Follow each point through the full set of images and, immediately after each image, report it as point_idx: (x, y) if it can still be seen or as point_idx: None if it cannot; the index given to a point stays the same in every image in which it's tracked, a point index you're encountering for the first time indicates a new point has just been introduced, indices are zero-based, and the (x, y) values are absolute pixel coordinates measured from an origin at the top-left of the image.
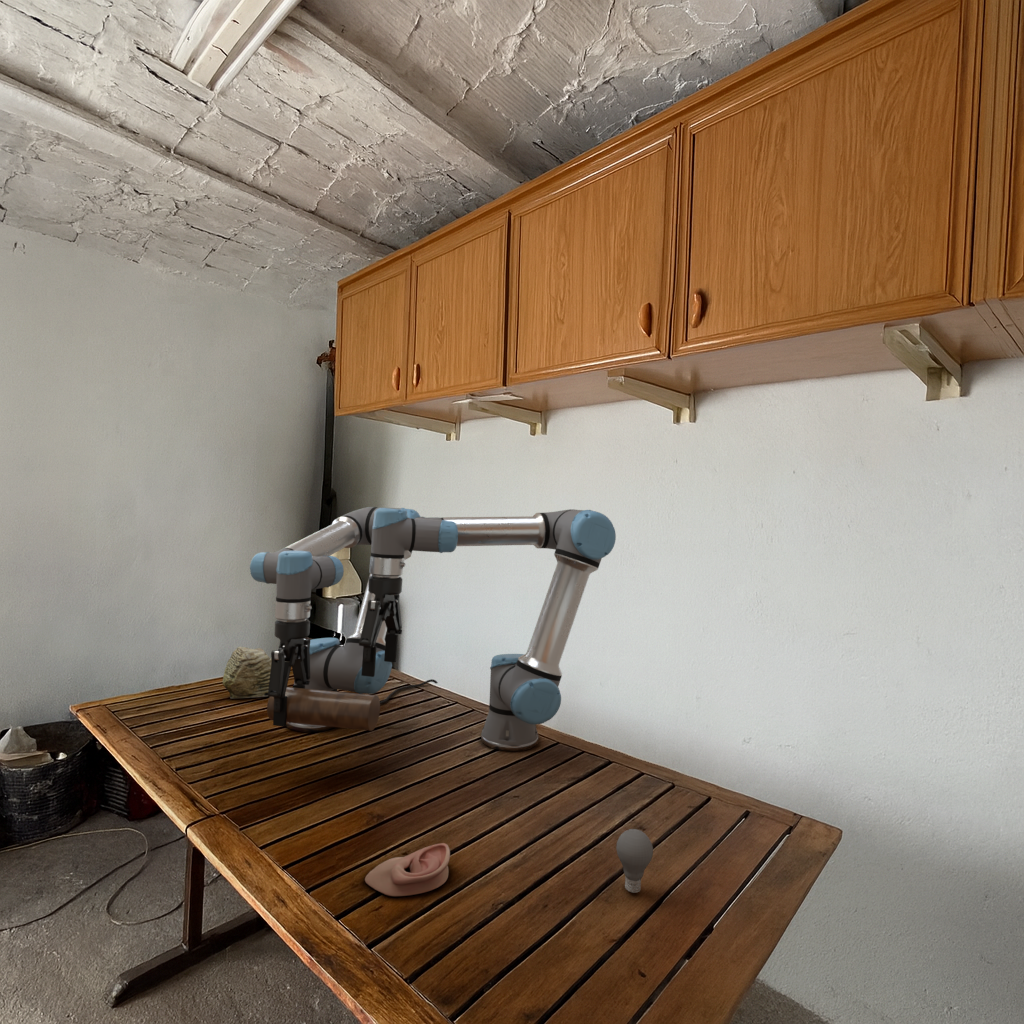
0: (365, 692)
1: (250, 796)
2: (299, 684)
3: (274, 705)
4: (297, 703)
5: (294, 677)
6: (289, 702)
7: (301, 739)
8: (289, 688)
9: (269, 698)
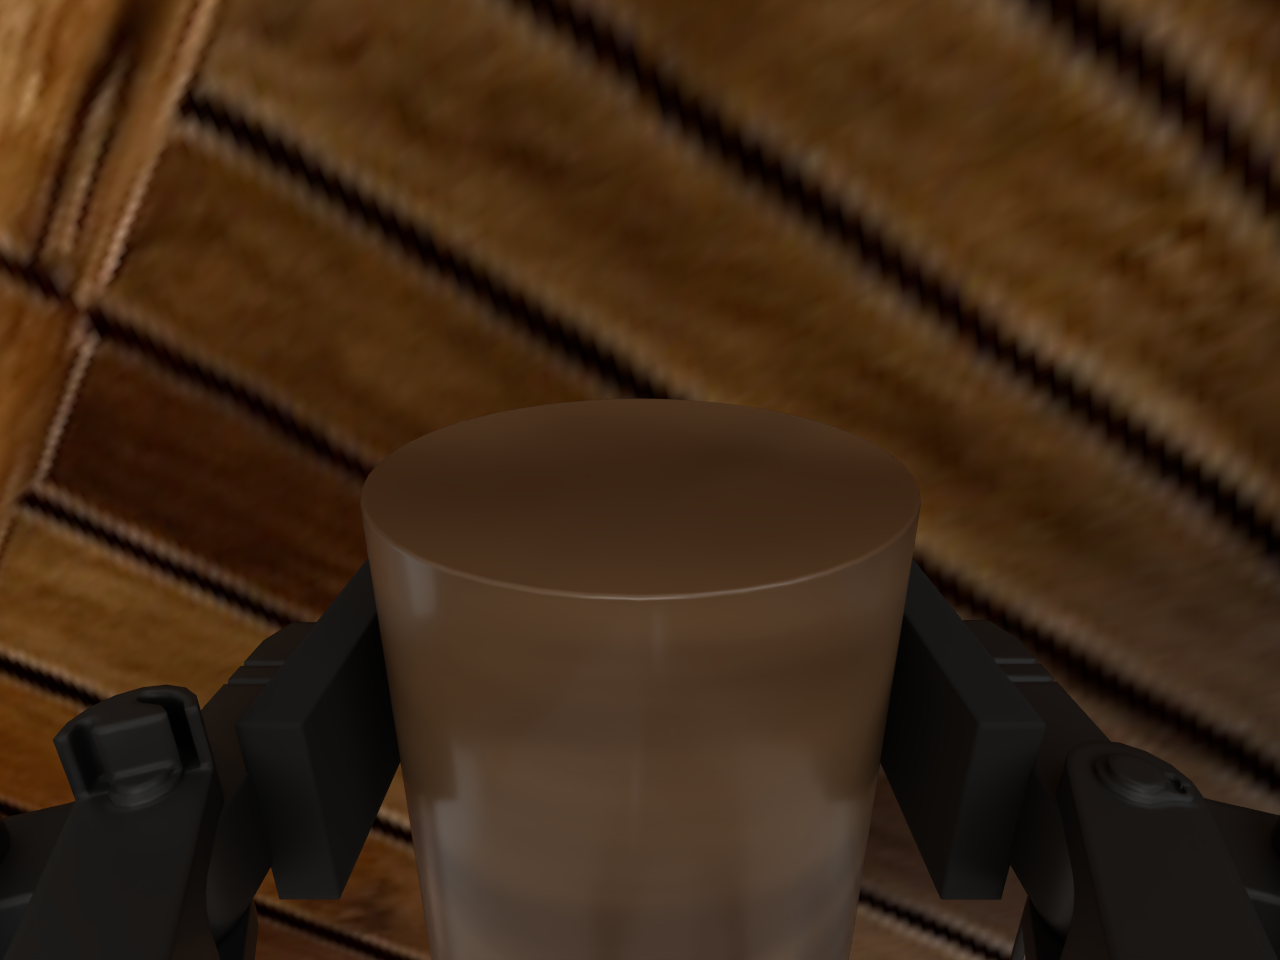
0: None
1: (312, 362)
2: (1028, 825)
3: (230, 688)
4: (425, 913)
5: (1095, 897)
6: (411, 824)
7: (1198, 229)
8: (617, 859)
9: (366, 534)
